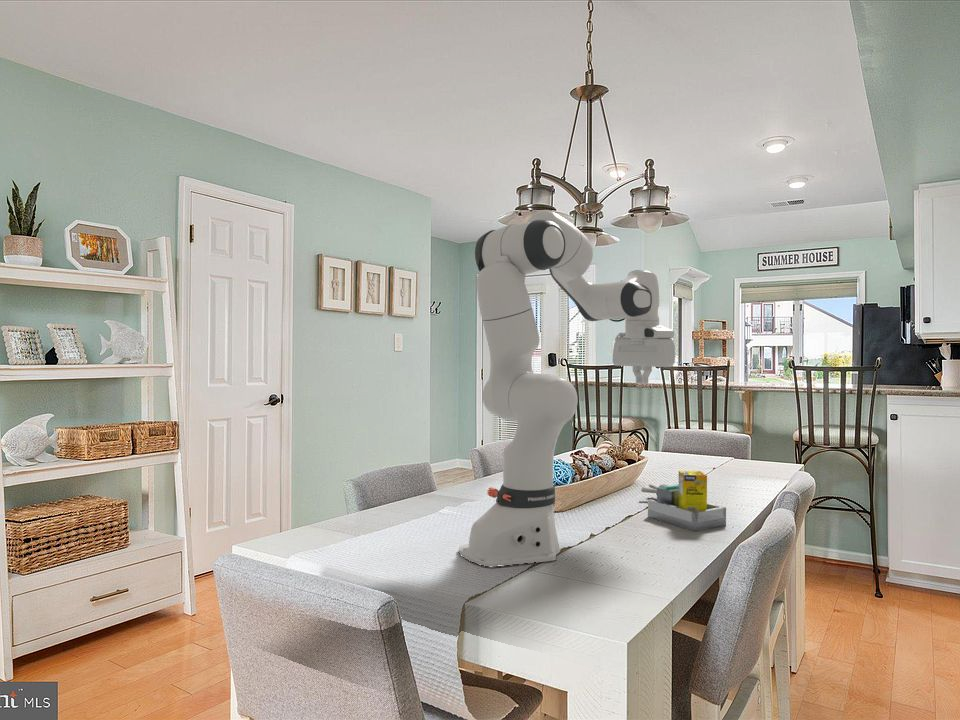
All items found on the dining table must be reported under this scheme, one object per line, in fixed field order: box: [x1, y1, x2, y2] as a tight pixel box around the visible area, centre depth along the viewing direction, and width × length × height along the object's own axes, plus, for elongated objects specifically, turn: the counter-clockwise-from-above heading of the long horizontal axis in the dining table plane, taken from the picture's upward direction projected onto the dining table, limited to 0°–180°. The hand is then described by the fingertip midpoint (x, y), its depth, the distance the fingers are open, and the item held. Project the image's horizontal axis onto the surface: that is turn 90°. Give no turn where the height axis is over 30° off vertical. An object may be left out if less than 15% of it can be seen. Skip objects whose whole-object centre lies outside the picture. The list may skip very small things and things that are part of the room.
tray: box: [647, 483, 727, 532], centre depth 169 cm, size 11×16×8 cm
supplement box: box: [678, 470, 708, 511], centre depth 167 cm, size 6×6×11 cm
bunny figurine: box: [641, 482, 676, 496], centre depth 191 cm, size 10×5×15 cm
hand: (642, 383), depth 176 cm, fingers closed
